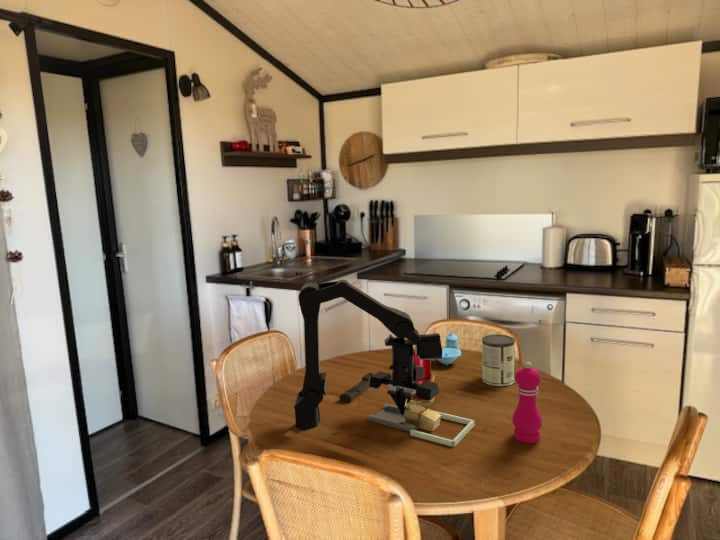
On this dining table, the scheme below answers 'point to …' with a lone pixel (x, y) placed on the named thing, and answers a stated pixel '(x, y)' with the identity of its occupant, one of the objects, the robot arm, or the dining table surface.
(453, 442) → the tray
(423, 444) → the dining table surface
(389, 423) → the slot rail
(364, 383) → the wooden stick
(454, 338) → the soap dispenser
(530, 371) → the pepper mill
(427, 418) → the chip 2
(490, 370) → the coffee can
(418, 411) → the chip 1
